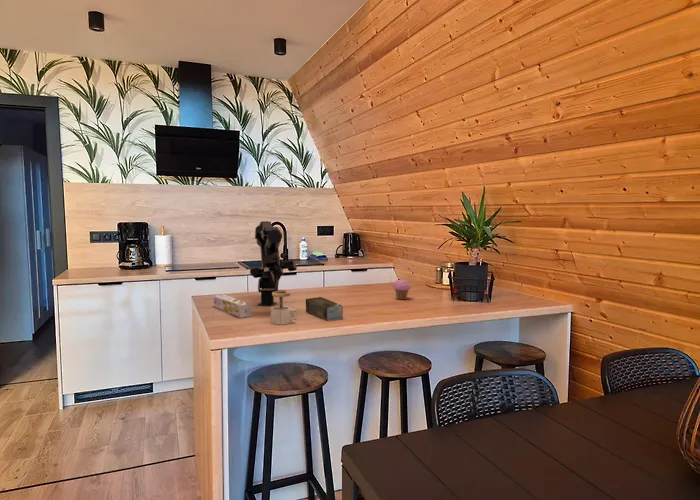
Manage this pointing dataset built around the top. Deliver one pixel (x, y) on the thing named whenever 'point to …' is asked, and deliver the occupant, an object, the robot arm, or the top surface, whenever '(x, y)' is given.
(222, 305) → the box
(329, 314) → the beverage carton
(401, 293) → the cupcake
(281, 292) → the plunger
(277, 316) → the press pot
